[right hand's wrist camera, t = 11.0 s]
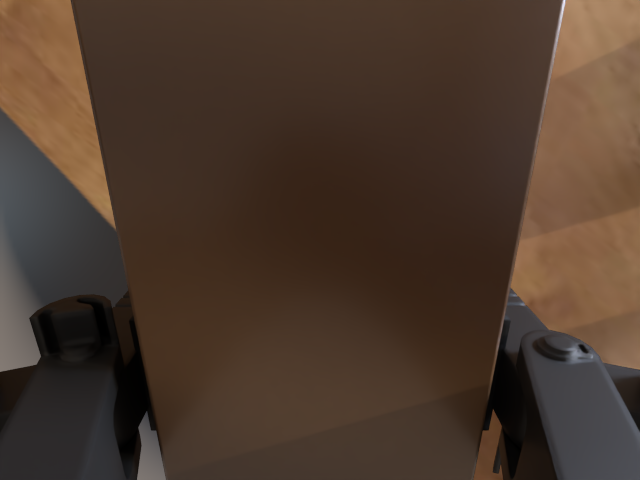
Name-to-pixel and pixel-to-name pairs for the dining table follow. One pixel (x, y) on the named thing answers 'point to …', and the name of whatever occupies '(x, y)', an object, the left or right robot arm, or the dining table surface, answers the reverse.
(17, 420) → the right robot arm
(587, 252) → the dining table surface
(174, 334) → the beam
